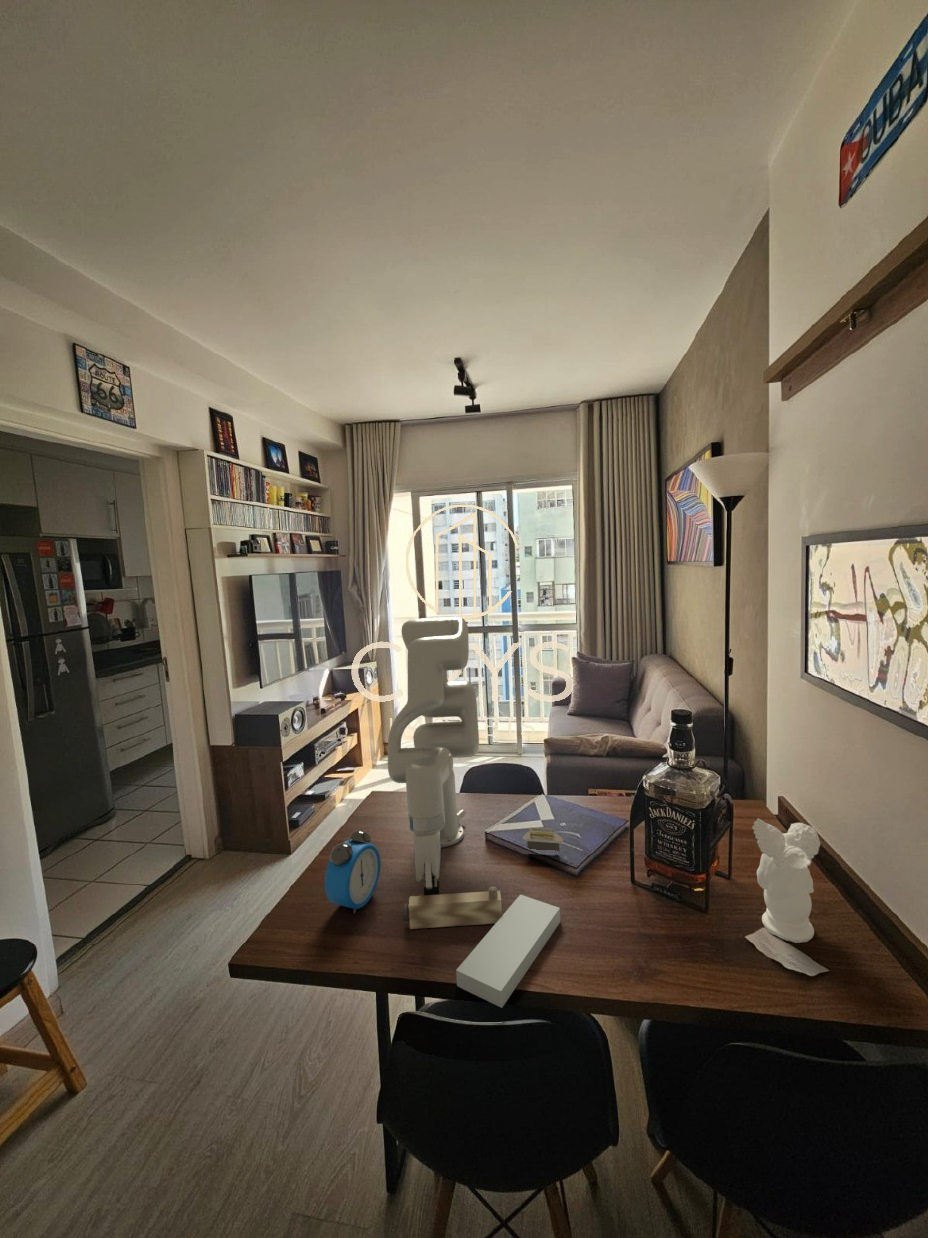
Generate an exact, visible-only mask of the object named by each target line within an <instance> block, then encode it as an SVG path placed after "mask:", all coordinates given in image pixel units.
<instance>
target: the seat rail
mask: <svg viewBox="0 0 928 1238" xmlns="http://www.w3.org/2000/svg"><path fill="white" fill-rule="evenodd" d="M560 923H561V907H558V906H555V905H552V904H549V903H546V902H543V901H540V900H537V899H535V898H532V897H529V896H527V895H524V894H519V896H517V898H516V899H515V900H514V901H513V903H512V904H511V905H510V906H509V907H508V908H507V910H506V911H505V912H504V913H502V917H501V918H500V919H499V920H498V921H497V923H494V925H493V926H492V927H491V928H490V930H489V931H488V932H487V933H486V934H485V936H484V937H483V938H482V939H481V940H480V941H479V943H478V944H476V946H475V947H474V949H473V950H472V951H471V952H470V953H469V954H468V956H467V957H466V958H465V959H464V960H463V961H462V963H461V964H459V966H458V967H457V968H456V970H455V972H456V986H457V987H458V988H460V989H462V990H463V991H466V992H468V993H470V994H472V995H475V996H476V997H478V998H481V999H483V1000H485V1001H487V1002H488V1003H490V1004H493V1005H495V1006H496V1007H499V1008H501V1009H502V1008H503V1007H504V1006H505V1004H506V1003H507V1002H508V1000H509V998H510V997H511V995H513V992H514V991H515V989H516V988H517V986H519V983H520V982H521V981H522V979H523V978H524V977H525V975H526V973H527V972H528V971H529V969H530V968H531V966H532V964H533V962H534V961H535V960H536V959H537V957H538V956H539V954H540V952H541V951H542V950H543V948H544V947H545V945H546V944H547V942H548V941H549V939H550V938H551V936H552V935H553V934H554V933H555V931H556V929H557V927H559V925H560Z"/></svg>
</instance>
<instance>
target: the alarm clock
mask: <svg viewBox="0 0 928 1238" xmlns="http://www.w3.org/2000/svg"><path fill="white" fill-rule="evenodd" d="M371 840H372V837H371V835H370V833H369V832H368V831H366V830H364V829H363V828H361V829H356V830H354V831H352V832H351V833H350V835H349V836H348V840H345V841H343V842H341V843H337V844H336V845H335V846H334V847H332V849H331V852H330V854H329V861H328V864H327V867H326V871H325V878H324V889H325V894H326V897H327V899H328V900H329V902H330V903H331V904H334V905H337V906H341V907H345V908H349V909H353V914H356V912H357V910H358V909H361V908H363V907H364V906H365V905H366V904H368V902H369V901H370V899H371V898H372V897H373V896H374V893H375V890H376V889H377V886H378V884H379V880H380V876H381V875H380V874H381V855H380V852H379V850H378V848H377V846H376V845H374V844H372V843H370V842H371Z"/></svg>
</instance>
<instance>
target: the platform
mask: <svg viewBox="0 0 928 1238" xmlns="http://www.w3.org/2000/svg"><path fill="white" fill-rule="evenodd" d="M522 841H524V842H526V844H527V845H526V846H527V847H526V848H529V849H536V850H555V851H556V850H557V851H559V852H560V844H564V837H562V836H561V835H560V834H558V833H557V832H554V831H553V828H542V827H530V830H528V831H526V833H525V834H523V835H522Z"/></svg>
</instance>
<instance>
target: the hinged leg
mask: <svg viewBox="0 0 928 1238" xmlns="http://www.w3.org/2000/svg"><path fill="white" fill-rule="evenodd" d="M408 898H409V899H408V903H403V907H402V908H403V909H402V911H403V913H402V916H403V922H404V923H407V922H409V930H417V929H428V928H431V929H432V928H445V927H457V926H460V927H461V926H473V925H474V926H475V925H488V924H490V925H491V924H496V923H497V921H498V920H499V919H500V918H501V917H502V916H503V912H502V911H503V910H502V895H501V890H498V887H496V886H489V887H488V890H487V891H473V892H472V891H471V892H458V893H446V894H445V893H442V894H440V895H425V896H424V895H412V896H411V895H410V896H409V897H408Z"/></svg>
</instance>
